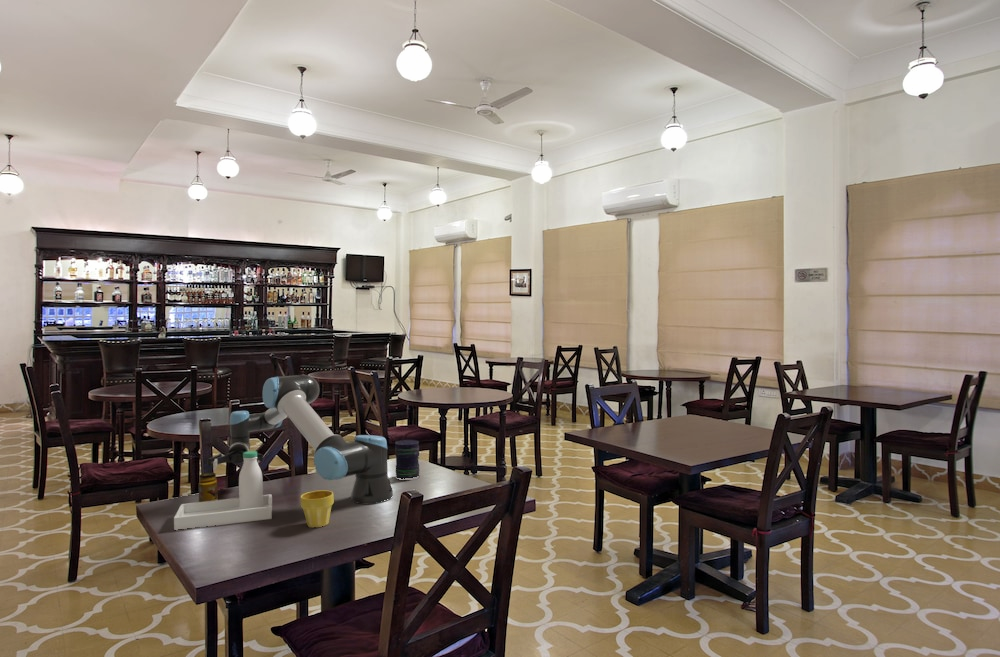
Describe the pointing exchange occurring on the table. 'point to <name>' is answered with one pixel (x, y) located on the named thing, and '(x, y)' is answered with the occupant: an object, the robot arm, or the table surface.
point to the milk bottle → (250, 482)
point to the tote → (220, 513)
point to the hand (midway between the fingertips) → (233, 464)
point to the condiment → (207, 487)
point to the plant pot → (317, 507)
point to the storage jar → (407, 458)
